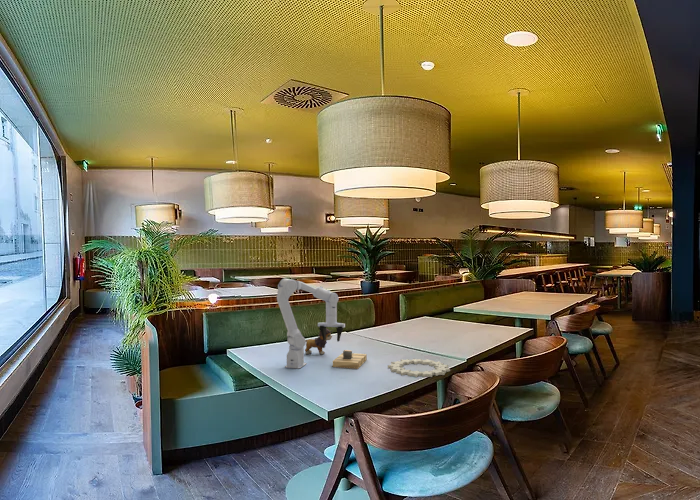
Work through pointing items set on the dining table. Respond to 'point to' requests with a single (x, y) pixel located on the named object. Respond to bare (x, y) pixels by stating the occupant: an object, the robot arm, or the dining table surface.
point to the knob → (347, 354)
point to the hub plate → (350, 361)
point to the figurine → (318, 342)
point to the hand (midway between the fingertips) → (331, 340)
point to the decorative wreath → (439, 370)
